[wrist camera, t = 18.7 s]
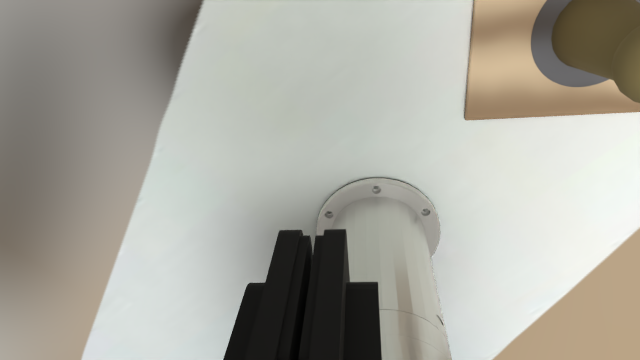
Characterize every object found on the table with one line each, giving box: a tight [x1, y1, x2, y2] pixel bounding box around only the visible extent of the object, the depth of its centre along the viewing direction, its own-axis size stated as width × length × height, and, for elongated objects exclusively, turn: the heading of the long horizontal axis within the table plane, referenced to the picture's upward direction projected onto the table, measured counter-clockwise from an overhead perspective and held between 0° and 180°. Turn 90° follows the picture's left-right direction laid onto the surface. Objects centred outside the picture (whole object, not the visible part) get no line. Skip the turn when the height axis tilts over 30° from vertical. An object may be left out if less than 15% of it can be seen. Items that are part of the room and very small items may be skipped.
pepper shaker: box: [551, 0, 640, 103], centre depth 29 cm, size 6×6×11 cm
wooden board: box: [464, 0, 640, 120], centre depth 34 cm, size 14×18×1 cm
